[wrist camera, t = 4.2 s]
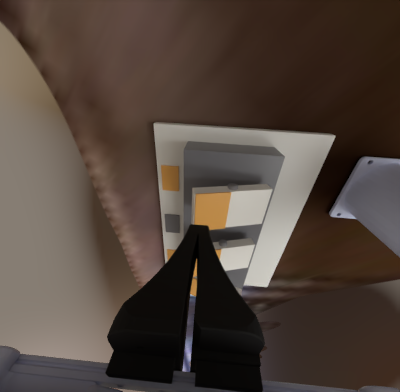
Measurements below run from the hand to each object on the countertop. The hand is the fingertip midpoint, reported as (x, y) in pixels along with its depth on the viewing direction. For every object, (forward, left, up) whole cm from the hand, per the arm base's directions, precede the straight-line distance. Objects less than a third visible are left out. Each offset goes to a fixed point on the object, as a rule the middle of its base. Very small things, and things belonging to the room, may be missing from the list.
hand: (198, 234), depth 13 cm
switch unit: (-4, +7, -10) cm, 13 cm away
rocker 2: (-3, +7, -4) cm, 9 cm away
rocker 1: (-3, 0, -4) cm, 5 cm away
